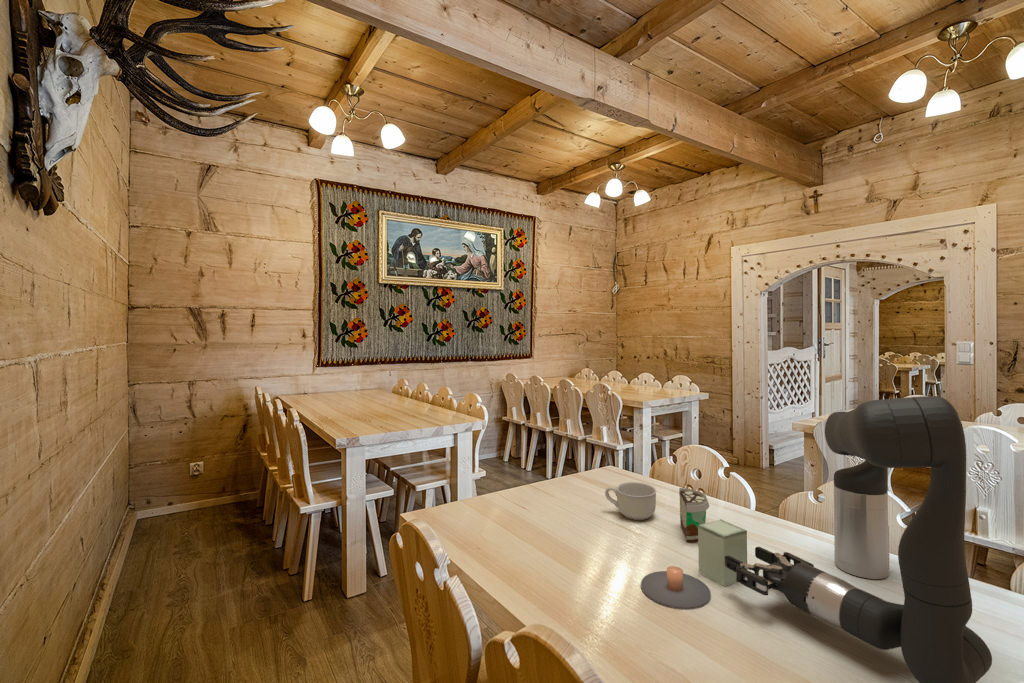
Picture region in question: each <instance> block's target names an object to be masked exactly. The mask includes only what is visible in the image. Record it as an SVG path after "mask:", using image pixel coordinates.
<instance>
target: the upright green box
mask: <svg viewBox="0 0 1024 683" xmlns="http://www.w3.org/2000/svg"><path fill="white" fill-rule="evenodd" d="M697 544H698V545H697V547H698V550H697V551H698V572H699V573H700V574H702V575H704V576H705V577H707V578H709V579H711V580H712V581H714V582H716V583H717V584H719V585H721V586H723V587H726V586H729V585H733V584H736V583H738V582H737V581H736V572H734V571H732V570H730V569H729V568H727V567H726V566H725V556H728V555H729V556H731V557H733V558H735V559H737V560H739V561H741V562H743V563H744V564H748V530H746V529H744V528H742V527H739V526H737V525H736V524H733V523H730V522H728V521H725V520H723V519H716V520H712V521H709V522H705V523H704V524H700V525H698V542H697ZM745 580H746V579H745Z"/></svg>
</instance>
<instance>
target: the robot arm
mask: <svg viewBox="0 0 1024 683" xmlns="http://www.w3.org/2000/svg"><path fill="white" fill-rule="evenodd" d="M824 437H825V438H824V439H825V441H826V445H827V447H829V449H830V450H831V452H833V453H834V454H837V455H842V456H850V457H851V456H852V457H858V458H860V459H863V460H864V461H863V462H862V463H859V464H857V465H854V466H850V467H845V468H840V469H837V470H836V471H835V472H834V474H833V525H834V527H833V530H834V531H833V532H834V536H833V537H834V542H833V543H834V544H833V545H834V547H833V548H834V565H835V566H836V567H837V568H838V569H840V570H841V571H843V572H845V573H847V574H849V575H850V574H851V575H852V576H856V577H859V578H864V579H869V580H882V579H883V580H884V579H886V578H888V577H889V574H890V573H889V570H890V526H889V498H888V497H889V495H888V493H889V492H888V490H889V489H888V488H889V487H888V483H889V481H888V480H889V479H888V478H889V473H888V471H889V469H898V468H899V469H906V468H911V469H912V468H913V469H914V468H930V482H929V485H928V490H927V492H926V495H925V497H924V499H923V501H922V503H921V505H920V507H919V508H918V509H917V511H916V513H915V514H914V516H913V517H912V518H911V520H910V522H908V524H907V526H906V528H905V529H904V531H903V532H902V534H901V537H900V540H899V543H898V548H897V557H898V558H897V559H898V560H897V561H898V565H899V571H900V572H899V573H900V578H901V583H902V584H901V585H902V589H903V593H904V594H903V595H904V600H903V601H904V603H903V604H901V603H895V602H890V601H887V600H885V599H882V598H880V597H878V596H876V595H874V594H871V593H869V592H867V591H865V590H862V589H860V588H858V587H857V586H854V585H853V584H851V583H849V582H848V581H846V580H844V579H841V578H840V577H837V576H835V575H833V574H830V573H828V572H826V571H823V570H822V569H819V568H817V567H815V565H814V563H811V562H809V561H807V560H805V559H802V558H801V557H799V556H796V555H794V554H792V553H789V552H787V551H785V552H783V554H781V553H779V552H772V551H770V550H768V549H765V548H763V547H761V546H756V547H755V549H754V557H755V558H756V559H758V560H760V561H762V562H765V563H767V564H762V563H754V564H749V563H747V564H744V563H743V562H741V561H739V560H737V559H735V558H733V557H731V556H729V555H728V556H725V566H726V567H727V568H729V569H730V570H732V571H734V572H736V581H737V582H736V583H739V584H741V585H742V586H745V587H746V588H749V589H751V590H753V591H754V592H756V593H759V594H760V595H763V596H769V590H774V591H778V592H780V593H782V594H783V595H784V597H785V599H786V600H787V601H788V603H789V604H790V605H791V606H794V607H796V608H798V609H799V610H801V611H802V612H805V613H806V614H808V615H810V616H812V617H814V618H816V619H818V620H820V621H821V622H823V623H825V624H827V625H829V626H830V627H834V628H835V629H839V630H841V631H843V632H845V633H847V634H848V635H851V636H853V637H854V638H856V639H857V640H858V639H859V640H860V641H862V642H864V643H866V644H868V645H870V646H872V647H874V648H877V649H879V650H882V651H887V650H892V649H897V648H900V649H901V650H900V651H901V653H902V657H903V660H904V662H905V665H906V667H907V668H908V670H909V672H910V673H911V674H912V676H913V677H914V679H915V680H916V681H917V682H918V683H977V682H978V681H979V680H980V679H981V678H982V677H983V676H985V675H986V674H987V673H988V672H989V671H990V669H991V667H992V663H993V655H992V652H991V649H990V648H989V647H988V645H987V644H986V643H985V641H984V640H983V638H981V637H980V636H979V635H978V634H977V633H976V632H975V631H974V630H972V629H971V628H969V627H968V626H967V624H968V622H969V621H970V619H971V617H972V615H973V598H972V594H971V587H970V580H969V574H968V573H969V572H968V568H967V562H966V561H967V560H966V552H965V549H966V547H965V531H966V530H965V529H966V528H965V527H966V509H967V508H966V504H967V443H966V436H965V430H964V427H963V423H962V420H961V418H960V415H959V414H958V412H957V410H956V408H955V407H954V406H953V405H952V403H951V402H950V401H949V400H947V399H946V398H944V397H942V396H935V395H926V396H923V395H922V396H911V397H899V398H898V397H897V398H895V397H894V398H885V399H874V400H872V399H871V400H868V401H864V402H862V403H860V404H859V405H858V406H857V407H855V408H854V409H851V410H849V411H835V412H832V413H831V414H830V415H829V416H828V417H827V419H826V421H825V425H824ZM791 562H793V563H791ZM760 570H762V575H760ZM752 571H753V572H752ZM745 579H746V580H745Z"/></svg>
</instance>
